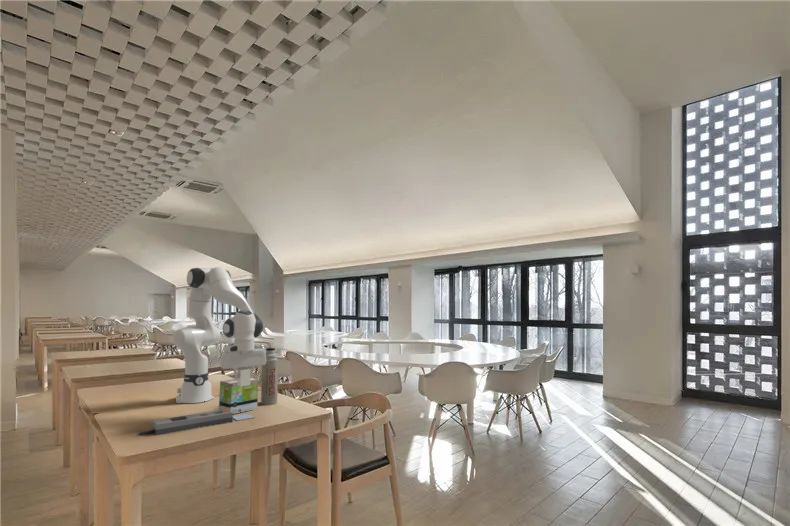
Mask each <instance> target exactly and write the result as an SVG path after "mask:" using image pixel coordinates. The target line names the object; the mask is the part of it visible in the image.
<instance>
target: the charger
mask: <svg viewBox="0 0 790 526" xmlns="http://www.w3.org/2000/svg"><path fill="white" fill-rule="evenodd" d="M236 371H237V373H239V374H240V378H236V379H237V385H238V386H248V385H250V378H251V376H250V373H251V368H248V367H244V368H237V370H236Z"/></svg>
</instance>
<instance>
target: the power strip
mask: <svg viewBox="0 0 790 526" xmlns="http://www.w3.org/2000/svg"><path fill="white" fill-rule="evenodd" d="M233 416H234V414H233V413H232V412H231V411H230V409H223V410H219V409H218V410H212V411H206V412H200V413H193V414H192V413H191V414H187V415H185V414H184V415H180V416H173V417H165V418H160V419H154V420H152V426H151V429H150V430H144V431H139V432H138V436H142V435H143V434H144V435H148V434H149V433H150V434H155V435H156V436H158V434H159V435H165V434H170V433H171V434H172V433H176V431H177V432H181V430H183V431H187V429H188V430H192V429H193V428H194V429H198V427H200V428H204V427H203V426H206V427H210V426H209V425H212V426H216V425H215V424H218V425H222V424H221V423H223V424H228V423H227V422H229V423H233V421H234V419H233ZM194 429H193V430H194ZM150 434H149V435H150Z"/></svg>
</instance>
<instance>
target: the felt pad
mask: <svg viewBox="0 0 790 526" xmlns="http://www.w3.org/2000/svg"><path fill="white" fill-rule="evenodd" d="M255 417H256V416H253V415H252V414H250V413H244V414H240V415H239V414H237V415H233V420H234V419H235V420H234V421H236V420H237V421H236V422H239V421H238V420H241V421H245V419H247V420H252V419H251V418H253V419H255Z"/></svg>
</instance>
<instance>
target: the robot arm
mask: <svg viewBox="0 0 790 526" xmlns="http://www.w3.org/2000/svg"><path fill="white" fill-rule="evenodd" d="M186 282H187V285H188V286H189V287H190V288H191V289H190V293H189V303H188V313H187V314H188V315H189V317H190V318H191V319H193V320H194V321H195V326H186V327H182V328H179V329H177V330H176V331H174V334H173V336H172V341H173V344H174V345H175V347H177V348H178V349H179V350H181V352H182V354H183V357H184V358H183V359H184V366H185V367H184V368H185V369H184V370H185V371H184V372H185V373H184V374H183V382H182V384H181V385H180V387H179V388H177V392H176V393H177V394H178V395H175V403H176V404H198V403H203V402H204V401H205V402H208V401H210V400H212V399H215V396H214V395H212V383H211V382H210V381H209V376H210V374H209V372H208V371H209V369H208V368H209V359H208V357H207V356H206V355H205V354H203V353H202V351H201V347H202V348H203V347H210V346H212V345H215V344H217V343H219V341H220V339H221V331H220V329H219V328H218V327H217V326H216V325H215V323H214V321H213V318H212V302H213V299H214V300H215V301H217V302H218V303H221V304H225V305H229V306H232V307H235V308H237V309H238V311H236V313H235V315H234V316H233V317H230V318H227V319H226V320H224V323H223V325H222V332H223V335H224V336H225V337H227V338H228V339H229V338H230V339H234V342H233V343H230V344H227V345H224V346H223V349H222V350H223V352H222V353H221V354H222V355H221V358H220V367H221V369H223V370H227V369H232V371H233V373H234V378H235V379H237V378H240V374H239V373H237V370H238V369H241V368H248V367H250V368H249V369H250V370H251V373H250V377H252V376H253V373H254V371H255V369H256V367H259V366H261V367H262V365H265V364H266V348H267V347H266V346H265V345H263V344H262V345H255V341H256V340H255V339H257V338H259V336H260V335H261V334H262V332H263V330H264V323H263V321H262V320H261V318H260V317H259V316H258V314H257V312H256V311H255V310H254V309H253V307H252V305H251V303H250V302H249V300H248V298H247V297H246V296H245V294H244V293H243V292H241V291H240V290H239V289H238V288H237V287H236V286H235V285H234V283H233V280H232V275H231V273H230V271H229V270H227V269H226V268H224V267H222V266H215V267H192V268H190V270H188V272H187V274H186Z"/></svg>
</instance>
